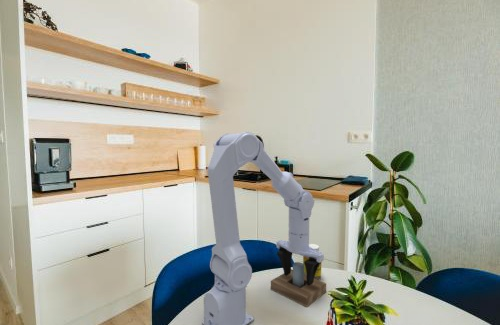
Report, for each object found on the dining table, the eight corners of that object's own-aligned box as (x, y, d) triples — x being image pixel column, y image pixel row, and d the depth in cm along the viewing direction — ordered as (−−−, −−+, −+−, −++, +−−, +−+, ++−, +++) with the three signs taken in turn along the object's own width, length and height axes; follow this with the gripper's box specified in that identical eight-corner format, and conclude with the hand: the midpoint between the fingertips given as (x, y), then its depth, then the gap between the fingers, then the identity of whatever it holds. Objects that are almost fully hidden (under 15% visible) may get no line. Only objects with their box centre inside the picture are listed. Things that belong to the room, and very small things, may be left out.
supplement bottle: (314, 284, 76) (315, 251, 76) (299, 277, 80) (299, 245, 80) (324, 278, 80) (325, 246, 79) (309, 272, 84) (309, 241, 83)
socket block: (306, 307, 65) (306, 297, 65) (270, 289, 74) (270, 280, 74) (326, 291, 72) (326, 283, 72) (291, 276, 81) (291, 269, 81)
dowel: (300, 293, 71) (300, 268, 70) (290, 288, 73) (290, 264, 73) (306, 288, 73) (306, 264, 73) (296, 284, 75) (296, 261, 75)
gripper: (329, 234, 70) (328, 283, 71) (286, 223, 80) (286, 266, 81) (316, 241, 65) (315, 293, 66) (272, 228, 75) (271, 273, 76)
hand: (298, 278), depth 73 cm, fingers open, 7 cm apart
